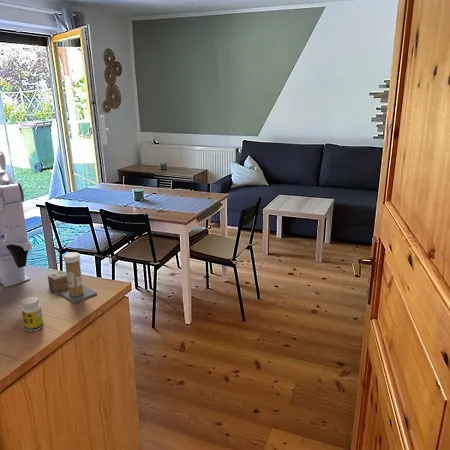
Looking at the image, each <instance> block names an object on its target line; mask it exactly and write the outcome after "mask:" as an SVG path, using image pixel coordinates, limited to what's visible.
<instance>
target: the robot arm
mask: <svg viewBox="0 0 450 450" xmlns="http://www.w3.org/2000/svg"><path fill="white" fill-rule="evenodd" d="M6 164H7V162H6V157H5V154H4V152H3V151H2V150H1V149H0V284H1V285H2V286H3V287H6V288H8V287H11V286H14V285H17V284H20V283H24V282H26V281H30V280H31V278H30V277H29V276H28V275H26V274H25V268H24V267H27V261H28V259H27V258H28V254H29V251H30V250H33V248H32V242H30V239H29V235H28V231H27V226H26V225H27V224H26V219H25V213H24V207H23V206H24V205H23V203H24V201H25V193H24V190H23V185H21V183H20V182H17V181H15V180H14V179H13V177H12V176H11V173H9V172H8V171H6V166H7V165H6Z"/></svg>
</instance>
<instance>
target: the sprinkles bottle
mask: <svg viewBox="0 0 450 450" xmlns="http://www.w3.org/2000/svg"><path fill="white" fill-rule="evenodd" d="M80 255H81V254H80V253H79V252H76V251H73V252H72V251H71V252H67V253H65V254H64V255H63V259H64V265H65V274H66V275H67V283H68V288H67V289H68V290H69V295H70V296H73V297H75V296H80V295H81V294H83V286H82V285H83V277H82V271H81V270H82V269H81V262H80V261H81V257H80Z"/></svg>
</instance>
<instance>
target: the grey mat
mask: <svg viewBox="0 0 450 450" xmlns="http://www.w3.org/2000/svg"><path fill="white" fill-rule="evenodd" d="M82 286H83V294H81V295H80V296H75V297H73V296H70V295H69V289H68V290H65V291H63V292H60V296H62V297H64V298H65V299H66V300H67V301H69V302H71V303H72V304H77V303H79V302H81V301H83V300H87V299H89V298H92V297H94V296H97V295H98V292H97V291H94V290H93V289H91V288H89V287H88V286H86V285H85V284H82Z"/></svg>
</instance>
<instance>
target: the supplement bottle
mask: <svg viewBox="0 0 450 450" xmlns="http://www.w3.org/2000/svg"><path fill="white" fill-rule="evenodd" d="M21 304H22V308H21V312H22V320H23V326H24V330H25V331H28V332H36V331H39V330H41V329H42V328H43V326H44V320H43V313H42V311H43V310H42V306H41V304H40V302H39V298H38V297H36V296H29V297H25V298H24V299H23V300H22V301H21Z"/></svg>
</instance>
